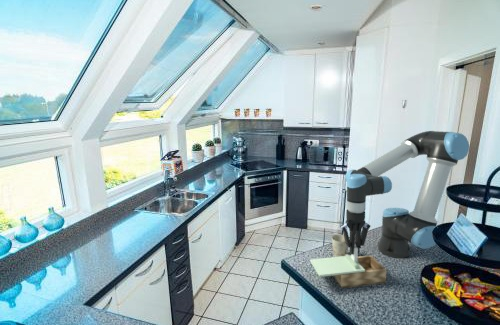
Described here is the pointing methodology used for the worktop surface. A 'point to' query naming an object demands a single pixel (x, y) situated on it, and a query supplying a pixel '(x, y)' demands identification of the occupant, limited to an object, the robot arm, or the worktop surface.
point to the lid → (336, 266)
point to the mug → (339, 245)
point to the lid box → (363, 274)
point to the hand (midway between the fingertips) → (354, 260)
